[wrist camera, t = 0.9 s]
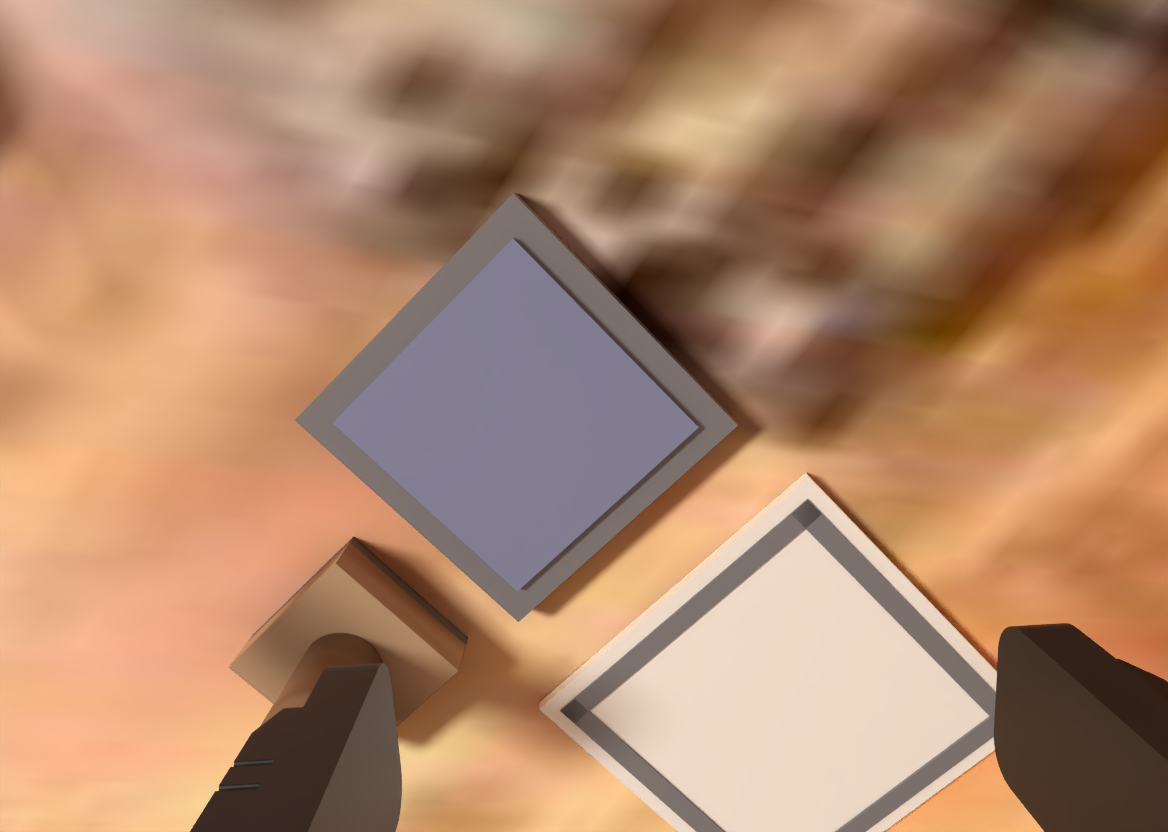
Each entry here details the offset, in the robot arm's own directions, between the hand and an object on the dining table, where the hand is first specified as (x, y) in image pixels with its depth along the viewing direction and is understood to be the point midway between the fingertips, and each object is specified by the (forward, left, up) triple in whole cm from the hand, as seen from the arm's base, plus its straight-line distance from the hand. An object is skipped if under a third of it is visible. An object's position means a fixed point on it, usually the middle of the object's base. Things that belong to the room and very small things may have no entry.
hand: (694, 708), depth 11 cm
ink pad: (+4, -2, -20) cm, 21 cm away
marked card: (+5, +14, -20) cm, 25 cm away
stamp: (+15, 0, -20) cm, 25 cm away
